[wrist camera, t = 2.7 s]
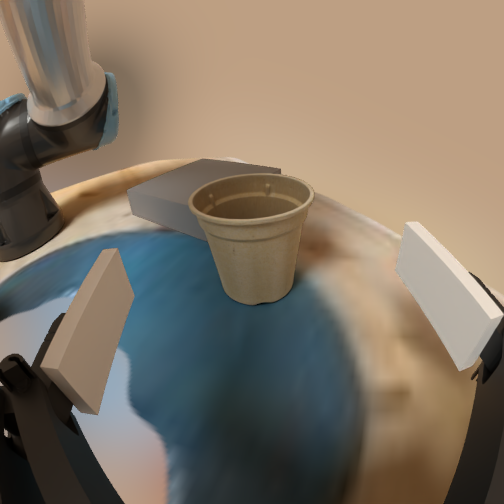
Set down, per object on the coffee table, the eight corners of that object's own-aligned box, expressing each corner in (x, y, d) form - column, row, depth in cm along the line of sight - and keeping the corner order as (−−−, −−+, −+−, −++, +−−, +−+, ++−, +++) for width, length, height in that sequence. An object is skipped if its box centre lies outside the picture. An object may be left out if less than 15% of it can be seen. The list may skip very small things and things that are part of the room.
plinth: (132, 214, 41) (126, 190, 39) (205, 179, 52) (202, 158, 50) (207, 241, 33) (202, 209, 31) (281, 194, 43) (280, 168, 41)
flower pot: (188, 312, 24) (165, 217, 19) (223, 251, 31) (213, 172, 26) (304, 327, 21) (311, 224, 17) (312, 257, 29) (316, 174, 24)
